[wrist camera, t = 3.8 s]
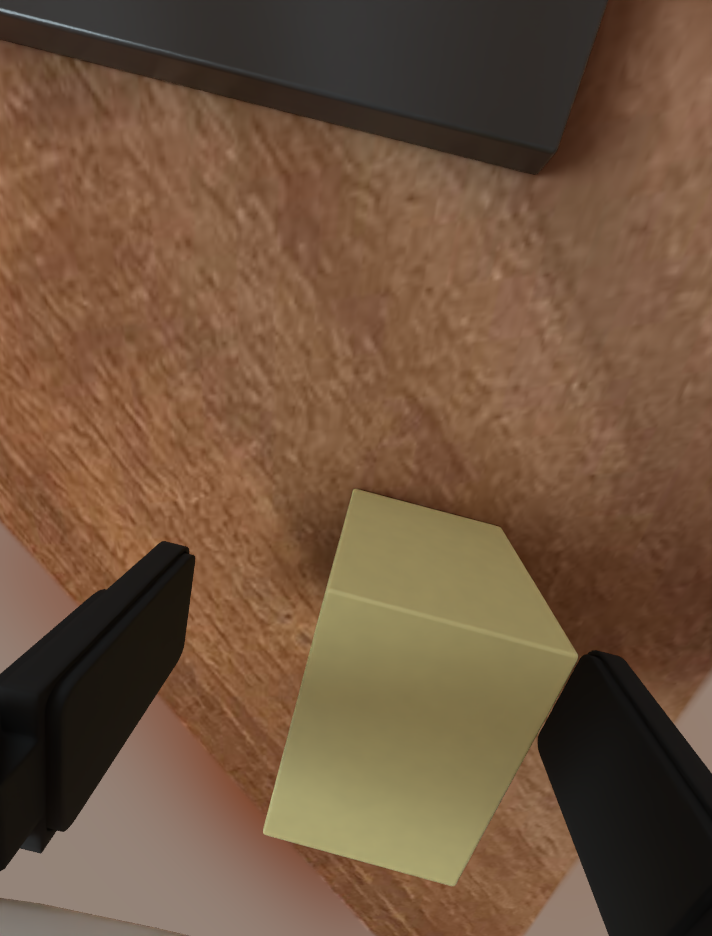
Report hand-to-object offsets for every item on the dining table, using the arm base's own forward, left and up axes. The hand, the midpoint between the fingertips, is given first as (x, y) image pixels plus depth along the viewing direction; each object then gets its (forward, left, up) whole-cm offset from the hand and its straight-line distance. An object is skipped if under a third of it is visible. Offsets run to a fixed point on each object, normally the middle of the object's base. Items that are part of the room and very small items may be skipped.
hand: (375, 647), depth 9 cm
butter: (-1, 0, -2) cm, 2 cm away
